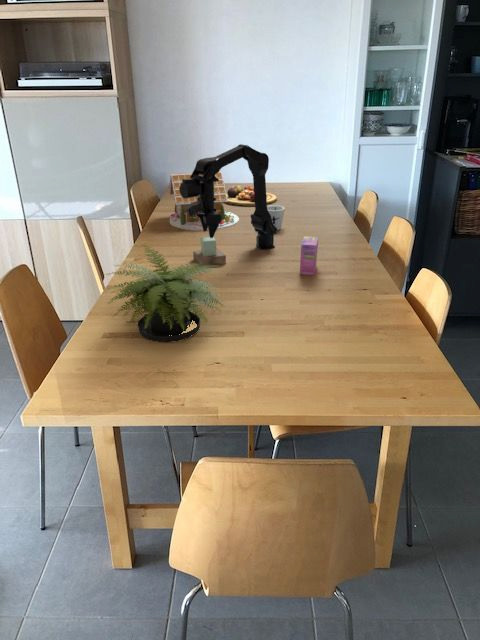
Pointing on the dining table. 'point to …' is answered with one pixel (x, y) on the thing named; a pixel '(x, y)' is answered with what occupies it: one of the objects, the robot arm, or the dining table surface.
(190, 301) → the fern plant
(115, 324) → the dining table surface
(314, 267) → the box
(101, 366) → the dining table surface
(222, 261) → the walnut base
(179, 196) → the gingerbread house
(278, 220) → the white cup
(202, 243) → the green block
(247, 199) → the wooden plate with food
